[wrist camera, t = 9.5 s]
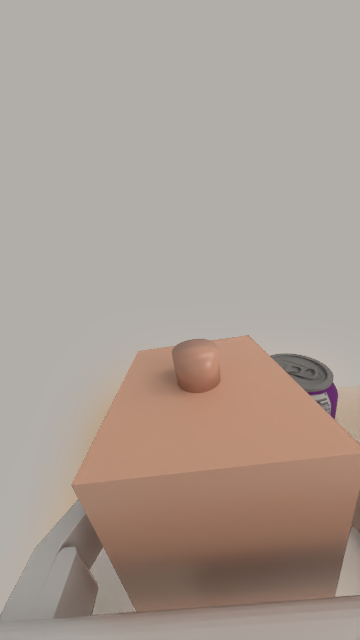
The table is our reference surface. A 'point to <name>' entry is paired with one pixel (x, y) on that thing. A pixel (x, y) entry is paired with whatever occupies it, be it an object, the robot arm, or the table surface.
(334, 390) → the beverage can
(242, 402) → the peach block with knob
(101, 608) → the table surface
